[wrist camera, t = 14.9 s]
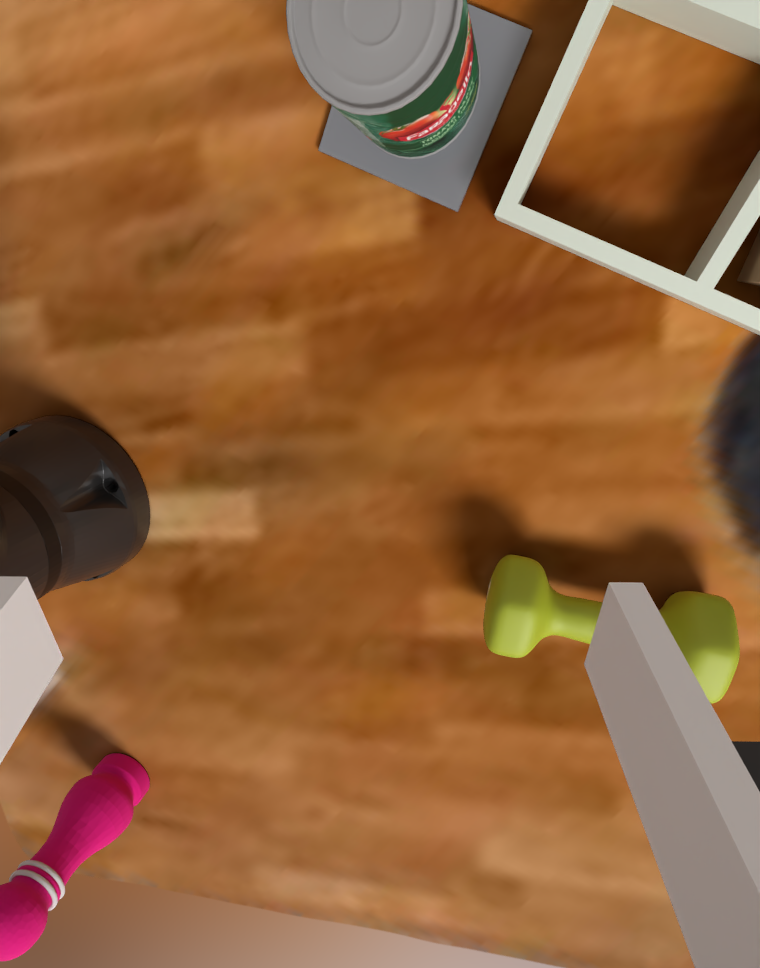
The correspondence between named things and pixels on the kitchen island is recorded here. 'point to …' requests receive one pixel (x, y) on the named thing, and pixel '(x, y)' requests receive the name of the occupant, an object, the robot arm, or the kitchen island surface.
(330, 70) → the canned tomato
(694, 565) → the kitchen island surface
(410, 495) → the kitchen island surface
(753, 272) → the walnut block
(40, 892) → the pepper mill
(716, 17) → the caddy
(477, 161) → the slate coaster
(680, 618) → the dumbbell
